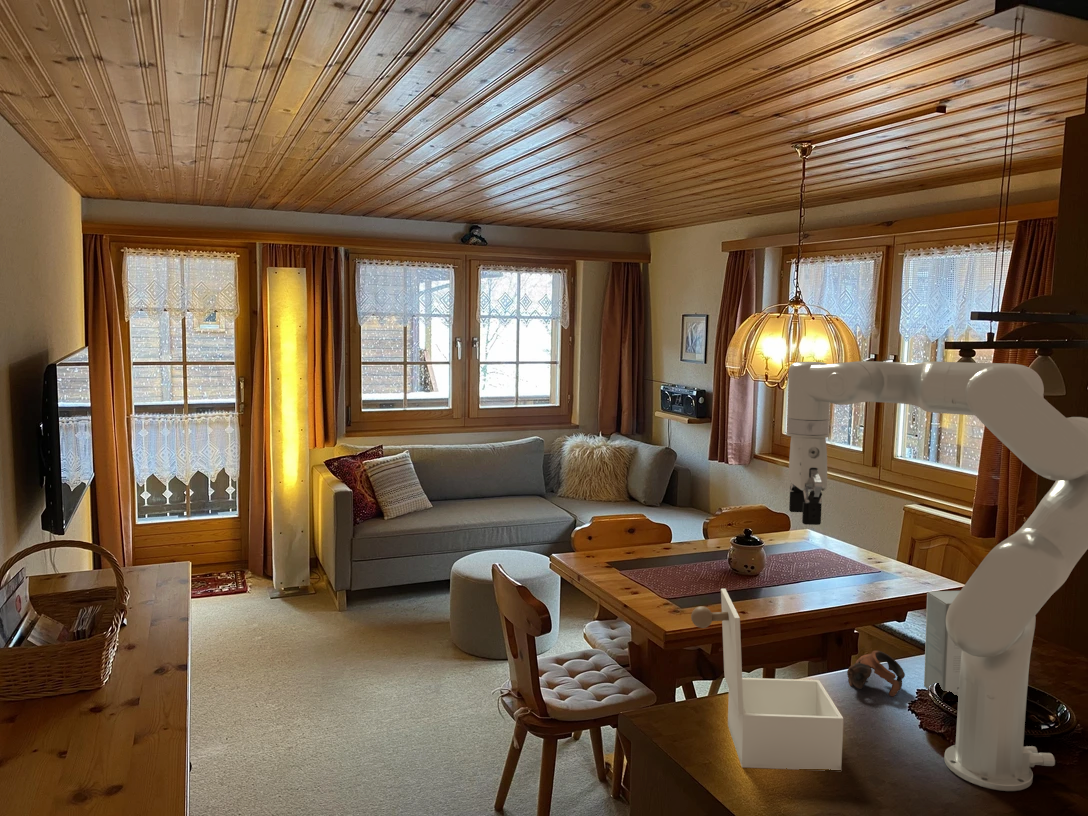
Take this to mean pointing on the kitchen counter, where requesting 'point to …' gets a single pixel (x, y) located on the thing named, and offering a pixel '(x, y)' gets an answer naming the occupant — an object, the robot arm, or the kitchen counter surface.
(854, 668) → the broken clay pot
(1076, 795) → the kitchen counter surface
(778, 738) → the carton
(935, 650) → the hard drive box
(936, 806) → the kitchen counter surface
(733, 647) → the carton lid
